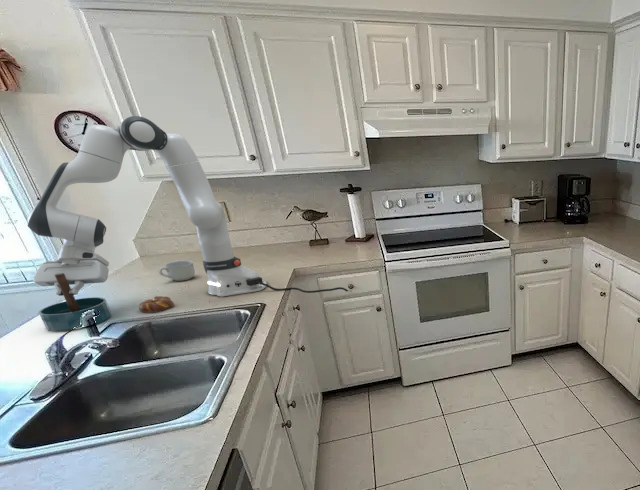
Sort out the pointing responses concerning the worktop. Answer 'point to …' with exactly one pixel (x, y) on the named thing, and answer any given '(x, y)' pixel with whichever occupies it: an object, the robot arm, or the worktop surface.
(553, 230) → the worktop surface
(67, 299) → the stirring stick
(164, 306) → the pretzel
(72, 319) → the bowl
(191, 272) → the teacup
